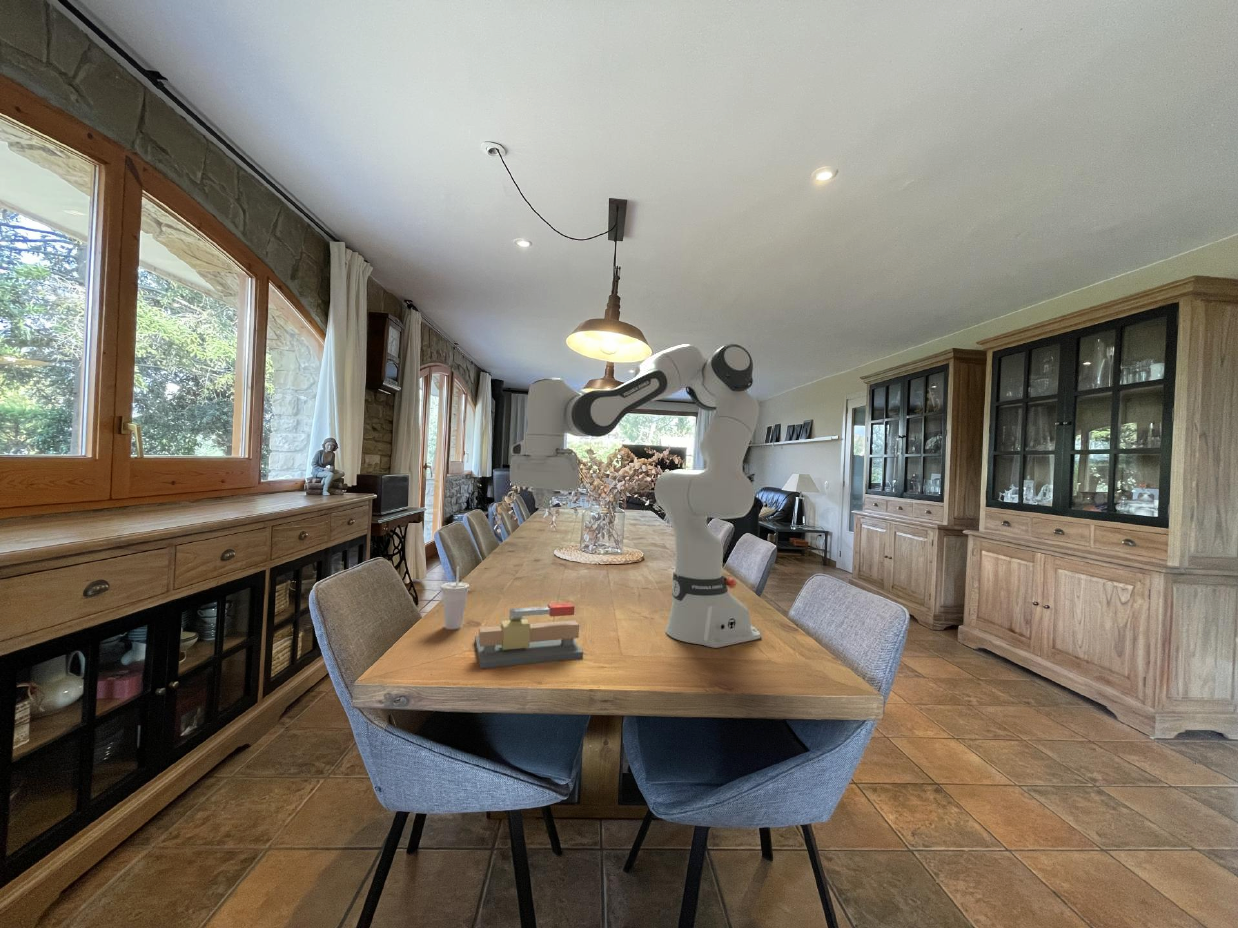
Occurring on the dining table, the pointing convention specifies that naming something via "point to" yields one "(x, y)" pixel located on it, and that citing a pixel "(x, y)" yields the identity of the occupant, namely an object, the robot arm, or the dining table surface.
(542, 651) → the board
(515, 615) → the lever
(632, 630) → the dining table surface
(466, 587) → the smoothie
